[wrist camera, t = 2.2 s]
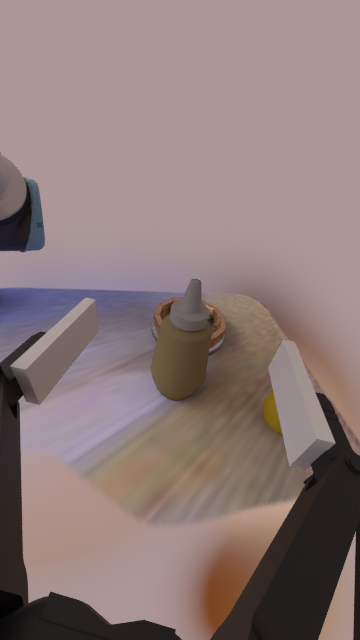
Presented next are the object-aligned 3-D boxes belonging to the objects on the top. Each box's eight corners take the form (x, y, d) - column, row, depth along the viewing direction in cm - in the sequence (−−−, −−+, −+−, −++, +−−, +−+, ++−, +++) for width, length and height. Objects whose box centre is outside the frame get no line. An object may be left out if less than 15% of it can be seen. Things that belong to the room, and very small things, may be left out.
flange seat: (141, 346, 40) (142, 330, 38) (161, 304, 52) (163, 291, 50) (222, 364, 39) (228, 350, 37) (223, 318, 51) (227, 304, 49)
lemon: (289, 413, 33) (316, 379, 28) (298, 451, 29) (331, 418, 24) (253, 403, 34) (273, 368, 29) (256, 439, 29) (280, 405, 24)
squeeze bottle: (210, 385, 35) (245, 286, 25) (176, 419, 30) (203, 311, 19) (173, 357, 39) (190, 261, 28) (138, 383, 34) (142, 276, 23)
